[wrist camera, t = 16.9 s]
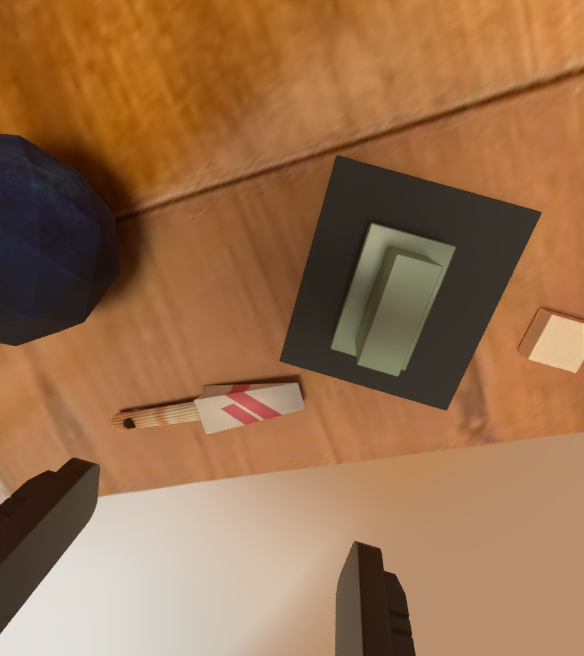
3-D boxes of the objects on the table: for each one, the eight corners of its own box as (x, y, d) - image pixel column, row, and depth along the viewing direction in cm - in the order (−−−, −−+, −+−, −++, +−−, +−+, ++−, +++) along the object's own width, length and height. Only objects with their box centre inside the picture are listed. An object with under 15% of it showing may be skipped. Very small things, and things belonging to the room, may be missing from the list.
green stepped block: (368, 220, 29) (377, 226, 23) (446, 242, 29) (478, 255, 22) (330, 337, 33) (328, 372, 26) (400, 358, 33) (415, 398, 26)
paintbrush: (304, 423, 33) (116, 445, 38) (308, 407, 36) (131, 429, 40) (294, 385, 32) (101, 412, 37) (298, 371, 35) (118, 398, 39)
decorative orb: (-116, 113, 27) (-306, 265, 18) (67, 65, 24) (-56, 216, 16) (35, 254, 38) (-38, 387, 30) (170, 232, 36) (131, 370, 27)
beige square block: (539, 307, 30) (552, 314, 29) (586, 321, 30) (603, 328, 28) (516, 350, 32) (527, 359, 30) (562, 363, 32) (576, 373, 30)
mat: (336, 156, 29) (336, 155, 28) (538, 212, 28) (542, 212, 28) (280, 358, 35) (279, 361, 34) (444, 407, 34) (446, 410, 34)
